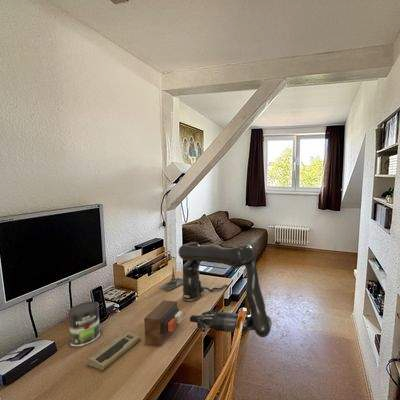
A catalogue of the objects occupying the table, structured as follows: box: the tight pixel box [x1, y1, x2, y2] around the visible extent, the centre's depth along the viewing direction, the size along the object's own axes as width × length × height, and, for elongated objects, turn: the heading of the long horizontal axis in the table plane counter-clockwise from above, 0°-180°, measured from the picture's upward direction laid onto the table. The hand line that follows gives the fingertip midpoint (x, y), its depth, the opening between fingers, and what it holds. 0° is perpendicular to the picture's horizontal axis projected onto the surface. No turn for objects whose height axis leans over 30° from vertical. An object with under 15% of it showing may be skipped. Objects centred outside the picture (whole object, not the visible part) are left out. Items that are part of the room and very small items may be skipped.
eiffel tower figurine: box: [158, 266, 183, 291], centre depth 146 cm, size 15×10×13 cm
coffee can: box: [67, 301, 101, 347], centre depth 96 cm, size 10×10×14 cm
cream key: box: [174, 310, 184, 324], centre depth 101 cm, size 2×4×4 cm, turn 173°
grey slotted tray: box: [87, 331, 140, 371], centre depth 89 cm, size 16×8×3 cm, turn 163°
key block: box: [143, 299, 180, 347], centre depth 99 cm, size 9×14×12 cm, turn 173°
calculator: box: [90, 300, 126, 316], centre depth 120 cm, size 11×4×15 cm
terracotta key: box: [168, 318, 178, 333], centre depth 96 cm, size 2×4×4 cm, turn 173°
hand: (190, 318), depth 100 cm, fingers closed
